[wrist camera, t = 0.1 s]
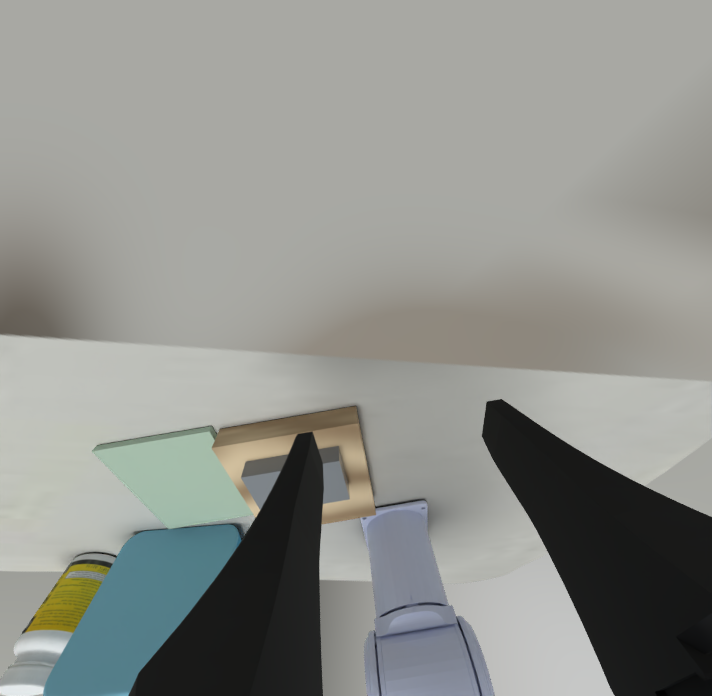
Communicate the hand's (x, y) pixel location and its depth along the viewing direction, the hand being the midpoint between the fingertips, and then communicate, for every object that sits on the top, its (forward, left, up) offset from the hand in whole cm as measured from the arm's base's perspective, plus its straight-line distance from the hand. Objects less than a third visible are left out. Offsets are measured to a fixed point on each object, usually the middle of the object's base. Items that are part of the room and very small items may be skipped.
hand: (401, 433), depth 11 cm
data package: (-23, +24, -10) cm, 35 cm away
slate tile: (-12, +8, -8) cm, 17 cm away
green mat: (-13, +20, -10) cm, 26 cm away
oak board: (-14, +8, -10) cm, 19 cm away
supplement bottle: (-25, +36, -10) cm, 45 cm away
